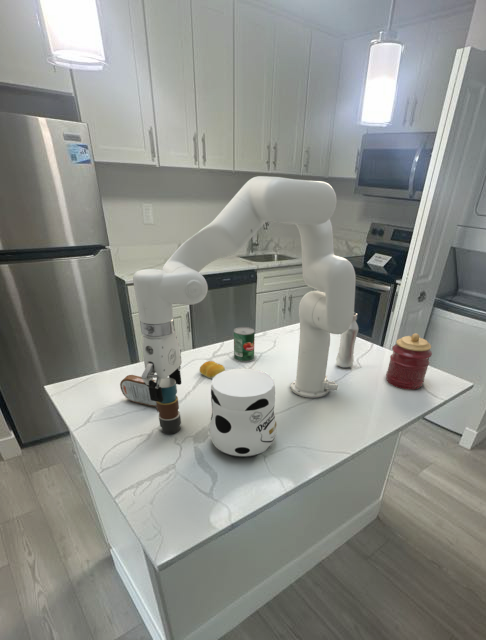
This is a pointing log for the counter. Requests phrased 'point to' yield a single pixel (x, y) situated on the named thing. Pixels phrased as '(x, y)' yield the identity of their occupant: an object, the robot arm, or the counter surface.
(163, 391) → the cylinder
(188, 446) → the counter surface
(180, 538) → the counter surface
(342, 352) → the plastic bottle
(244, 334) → the canned tomato
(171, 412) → the cylinder
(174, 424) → the black pod
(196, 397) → the counter surface
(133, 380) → the tin
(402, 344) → the kitchen canister
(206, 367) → the bread roll
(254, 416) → the milk container
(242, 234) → the robot arm
